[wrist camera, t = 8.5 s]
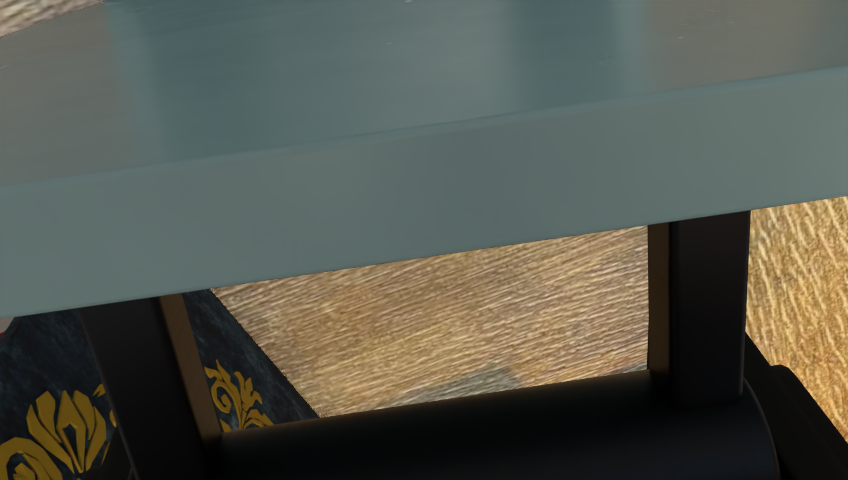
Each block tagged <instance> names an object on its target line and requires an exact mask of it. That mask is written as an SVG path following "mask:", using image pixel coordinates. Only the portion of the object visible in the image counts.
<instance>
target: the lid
mask: <svg viewBox="0 0 848 480" xmlns="http://www.w3.org/2000/svg"><path fill="white" fill-rule="evenodd" d="M844 196H848V0H117V1H110V2H103V3H97V4H94V5H91V6H88V7H85V8H82V9H80V10H77V11H74V12H71V13H68V14H65V15H62V16H59V17H56V18H53V19H51V20H48V21H45V22H42V23H39V24H36V25H33V26H30V27H27V28H24V29H22V30H19V31H16V32H13V33H10V34H7V35H4V36H1V37H0V319H5V318H12V317H18V316H25V315H32V314H39V313H46V312H53V311H60V310H67V309H73V308H76V310H77V312H78V315H79V318H80V321H81V324H82V327H83V330H84V332H85V335H86V338H87V341H88V344H89V347H90V350H91V353H92V355H93V358H94V361H95V364H96V367H97V370H98V373H99V375H100V378H101V381H102V384H103V387H104V390H105V393H106V395H107V398H108V401H109V404H110V407H111V410H112V413H113V415H114V418H115V421H116V424H117V427H118V430H119V433H120V435H121V438H122V441H123V444H124V447H125V450H126V453H127V455H128V458H129V461H130V464H131V469H130V472H129V475H128V479H127V480H781V475H780V469H779V463H778V458H777V454H776V449H775V445H774V442H773V438H772V435H771V432H770V429H769V426H768V423H767V420H766V418H765V415H764V412H763V410H762V408H761V406H760V403H759V401H758V399H757V397H756V395H755V393H754V392H753V390H752V388H751V387H750V385H749V383H748V382H747V380H746V379H745V378H744V376H743V371H744V348H745V326H746V304H747V282H748V259H749V237H750V215H751V210H754V209H761V208H768V207H775V206H782V205H789V204H796V203H803V202H809V201H816V200H823V199H830V198H837V197H844ZM644 225H648V299H649V369H647V370H641V371H634V372H627V373H620V374H613V375H607V376H600V377H593V378H586V379H580V380H573V381H566V382H559V383H553V384H546V385H539V386H532V387H526V388H519V389H512V390H505V391H499V392H492V393H485V394H478V395H472V396H465V397H458V398H451V399H444V400H438V401H431V402H424V403H417V404H411V405H404V406H397V407H390V408H384V409H377V410H370V411H363V412H357V413H350V414H343V415H336V416H330V417H323V418H316V419H309V420H303V421H296V422H289V423H282V424H275V425H269V426H262V427H255V428H248V429H242V430H235V431H228V432H221V431H220V427H219V424H218V420H217V417H216V413H215V410H214V406H213V403H212V399H211V396H210V392H209V389H208V385H207V382H206V378H205V375H204V371H203V368H202V364H201V361H200V357H199V354H198V350H197V347H196V343H195V340H194V336H193V332H192V329H191V325H190V322H189V318H188V315H187V311H186V308H185V304H184V301H183V297H182V294H181V293H184V292H190V291H197V290H204V289H211V288H218V287H225V286H232V285H239V284H245V283H252V282H259V281H266V280H273V279H280V278H287V277H294V276H300V275H307V274H314V273H321V272H328V271H335V270H342V269H349V268H355V267H362V266H369V265H376V264H383V263H390V262H397V261H404V260H411V259H417V258H424V257H431V256H438V255H445V254H452V253H459V252H466V251H472V250H479V249H486V248H493V247H500V246H507V245H514V244H521V243H527V242H534V241H541V240H548V239H555V238H562V237H569V236H576V235H582V234H589V233H596V232H603V231H610V230H617V229H624V228H631V227H638V226H644Z"/></svg>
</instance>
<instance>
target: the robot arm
mask: <svg viewBox="0 0 848 480" xmlns="http://www.w3.org/2000/svg"><path fill="white" fill-rule="evenodd" d="M647 369H649V326H648V352H647ZM204 375H205V374H204ZM743 376H744V378H745V379H746V380H747V382H748V383H749V385H750V387H751V388H752V390H753V392H754V393H755V395H756V397H757V399H758V401H759V403H760V406H761V408H762V410H763V412H764V415H765V418H766V420H767V423H768V426H769V429H770V432H771V435H772V438H773V442H774V445H775V449H776V454H777V458H778V463H779V469H780V475H781V480H848V443H847V442H846V441H845V439H844V438H843V437H842V435H841V434H840V433H839V431H838V430H837V429H836V427H835V426H834V425H833V424H832V422H831V421H830V420H829V418H828V417H827V416H826V414H825V413H824V412H823V410H822V409H821V408H820V407H819V405H818V404H817V403H816V401H815V400H814V399H813V397H812V396H811V395H810V393H809V392H808V391H807V390H806V388H805V387H804V386H803V384H802V383H801V382H800V380H799V379H798V378H797V377H796V375H795V374H794V373H793V372H792V371H791V370H790V369H789V368H788V367H785V366H783V365H774V366H770V364H769V363H768V362H767V360H766V359H765V358H764V356H763V355H762V354H761V352H760V351H759V349H758V348H757V347H756V345H755V344H754V343H753V341H752V340H751V339H750V337H749V336H748V334H747V333H746V332H745V348H744V371H743ZM205 378H206V377H205ZM206 382H207V380H206ZM207 385H208V383H207ZM208 389H209V386H208ZM209 392H210V389H209ZM210 396H211V399H212V403H213V406H214V410H215V413H216V417H217V420H218V424H219V427H220V431H221V432H224V430H223V427H222V424H221V421H220V418H219V415H218V412H217V409H216V406H215V403H214V400H213V398H212V395H211V392H210ZM130 469H131V464H130V461H129V458H128V455H127V453H126V450H125V447H124V444H123V441H122V438H121V435H120V433H119V430H118V427H117V425H116V428H115V431H114V434H113V436H112V439H111V442H110V444H109V447H108V450H107V453H106V455H105V458H104V461H103V464H102V465H99V466H92V467H91V468H89V469H88V470H87V471H86V472H85V474H84V476H83V477H82V479H81V480H127V479H128V475H129V472H130Z"/></svg>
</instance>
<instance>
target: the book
mask: <svg viewBox="0 0 848 480" xmlns="http://www.w3.org/2000/svg"><path fill="white" fill-rule="evenodd" d="M181 294H182V297H183V301H184V304H185V308H186V311H187V315H188V318H189V322H190V325H191V329H192V332H193V336H194V340H195V343H196V347H197V350H198V354H199V357H200V361H201V364H202V368H203V371H204V374H205V377H206V380H207V383H208V386H209V389H210V392H211V395H212V398H213V400H214V403H215V406H216V409H217V412H218V415H219V418H220V421H221V424H222V427H223V430H224V432H228V431H235V430H242V429H248V428H255V427H262V426H269V425H275V424H282V423H289V422H296V421H303V420H309V419H316V418H319V417H318V416H317V414H316V413H315V412H314V411H313V410H312V409H311V407H310V406H309V405H308V404H307V403H306V402H305V401H304V399H303V398H302V397H301V396H300V395H299V394H298V392H297V391H296V390H295V389H294V388H293V387H292V385H291V384H290V383H289V382H288V381H287V380H286V378H285V377H284V376H283V375H282V374H281V373H280V371H279V370H278V369H277V368H276V367H275V366H274V364H273V363H272V362H271V361H270V360H269V359H268V357H267V356H266V355H265V354H264V353H263V352H262V350H261V349H260V348H259V347H258V346H257V345H256V344H255V342H254V341H253V340H252V339H251V338H250V337H249V335H248V334H247V333H246V332H245V331H244V330H243V328H242V327H241V326H240V325H239V324H238V323H237V321H236V320H235V319H234V318H233V317H232V316H231V314H230V313H229V312H228V311H227V310H226V309H225V307H224V306H223V305H222V304H221V303H220V302H219V300H218V299H217V298H216V297H215V296H214V295H213V294H212V292H211V291H210V290H209V289H204V290H197V291H190V292H184V293H181ZM116 425H117V424H116V421H115V418H114V415H113V413H112V410H111V407H110V404H109V401H108V398H107V395H106V393H105V390H104V387H103V384H102V381H101V378H100V375H99V373H98V370H97V367H96V364H95V361H94V358H93V355H92V353H91V350H90V347H89V344H88V341H87V338H86V335H85V332H84V330H83V327H82V324H81V321H80V318H79V315H78V312H77V310H76V308H73V309H67V310H60V311H53V312H46V313H39V314H32V315H25V316H18V317H12V318H5V319H0V480H81V479H82V477H83V476H84V474H85V472H86V471H87V470H88V469H89V468H91V467H92V466H99V465H102V464H103V461H104V458H105V455H106V453H107V450H108V447H109V444H110V442H111V439H112V436H113V434H114V431H115V428H116Z"/></svg>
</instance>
